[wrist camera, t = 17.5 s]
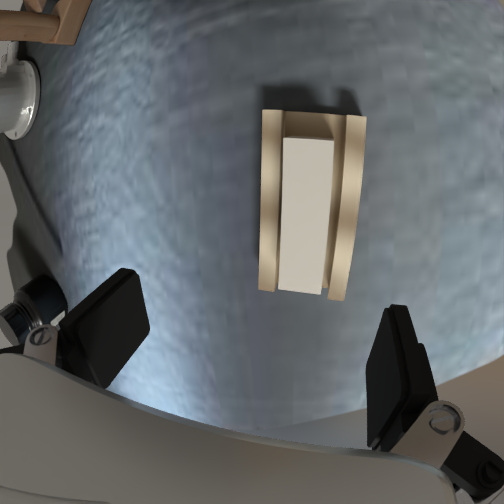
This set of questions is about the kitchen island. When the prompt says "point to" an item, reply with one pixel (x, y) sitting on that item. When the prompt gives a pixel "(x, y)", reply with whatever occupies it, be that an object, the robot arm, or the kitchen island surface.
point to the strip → (305, 212)
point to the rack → (342, 192)
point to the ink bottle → (32, 309)
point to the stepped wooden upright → (44, 22)
